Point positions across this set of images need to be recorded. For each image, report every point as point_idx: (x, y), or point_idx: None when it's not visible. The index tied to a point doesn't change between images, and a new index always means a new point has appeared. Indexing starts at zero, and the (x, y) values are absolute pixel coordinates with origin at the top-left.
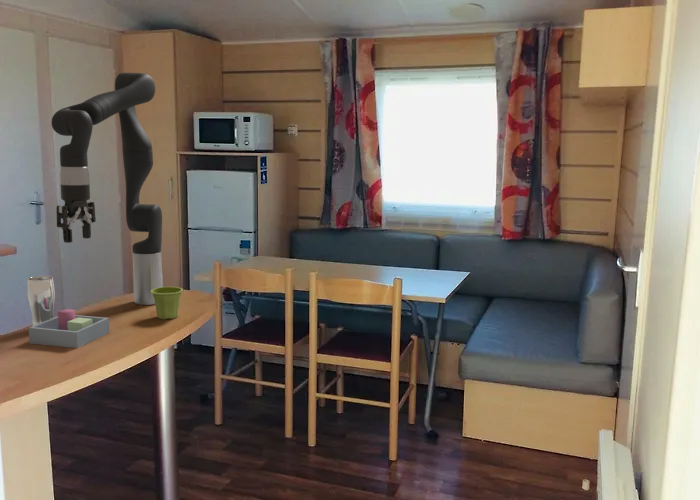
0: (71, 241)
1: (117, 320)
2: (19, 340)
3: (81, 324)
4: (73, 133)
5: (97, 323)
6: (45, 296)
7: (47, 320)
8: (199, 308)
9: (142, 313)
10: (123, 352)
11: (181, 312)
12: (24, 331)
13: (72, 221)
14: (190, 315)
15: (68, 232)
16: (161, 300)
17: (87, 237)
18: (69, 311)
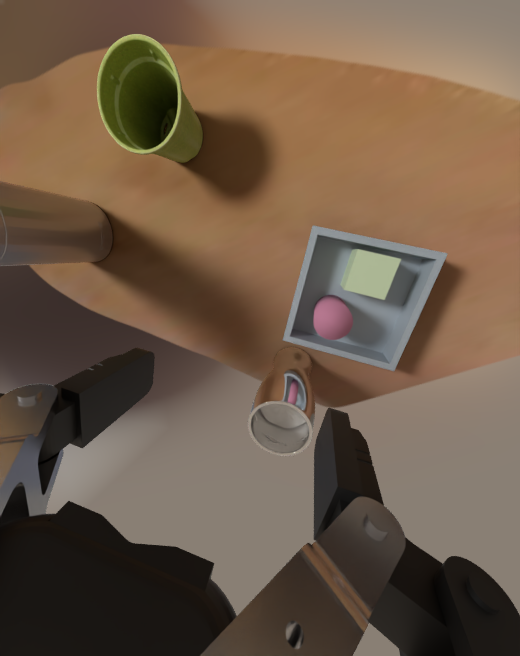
0: (338, 411)
1: (224, 246)
2: (364, 379)
3: (399, 261)
4: None
5: (360, 235)
6: (307, 387)
7: (336, 354)
8: None
9: (167, 211)
10: (482, 124)
11: None
12: None
13: (342, 587)
14: None
15: (365, 482)
16: (185, 113)
17: (150, 363)
18: (334, 314)
